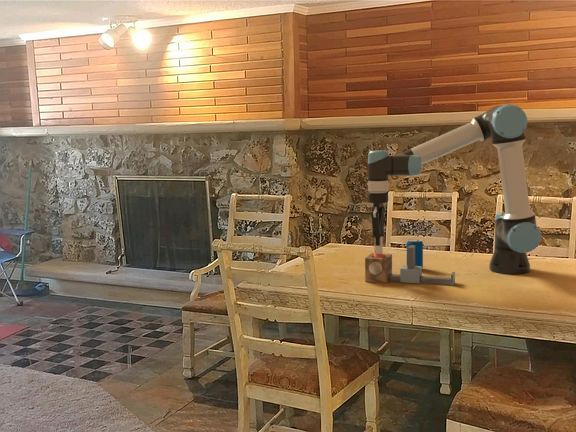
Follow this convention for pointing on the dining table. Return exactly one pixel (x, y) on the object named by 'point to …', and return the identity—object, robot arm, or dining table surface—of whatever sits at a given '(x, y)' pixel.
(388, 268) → the brown button box
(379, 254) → the gauge button
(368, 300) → the dining table surface
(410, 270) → the carriage
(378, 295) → the dining table surface
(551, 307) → the dining table surface
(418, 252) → the beverage can
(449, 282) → the rail
